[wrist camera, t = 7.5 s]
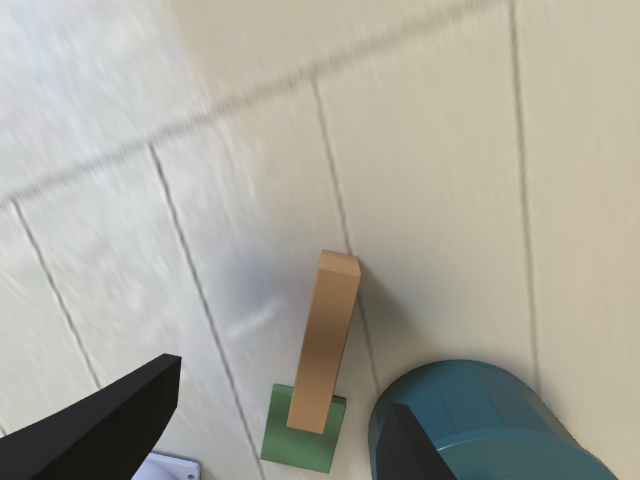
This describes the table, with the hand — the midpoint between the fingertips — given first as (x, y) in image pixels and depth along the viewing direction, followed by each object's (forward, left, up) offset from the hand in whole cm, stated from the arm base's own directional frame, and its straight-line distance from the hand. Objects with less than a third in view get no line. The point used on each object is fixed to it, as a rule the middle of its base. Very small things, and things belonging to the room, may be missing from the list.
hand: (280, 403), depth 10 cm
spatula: (-5, -1, -9) cm, 10 cm away
